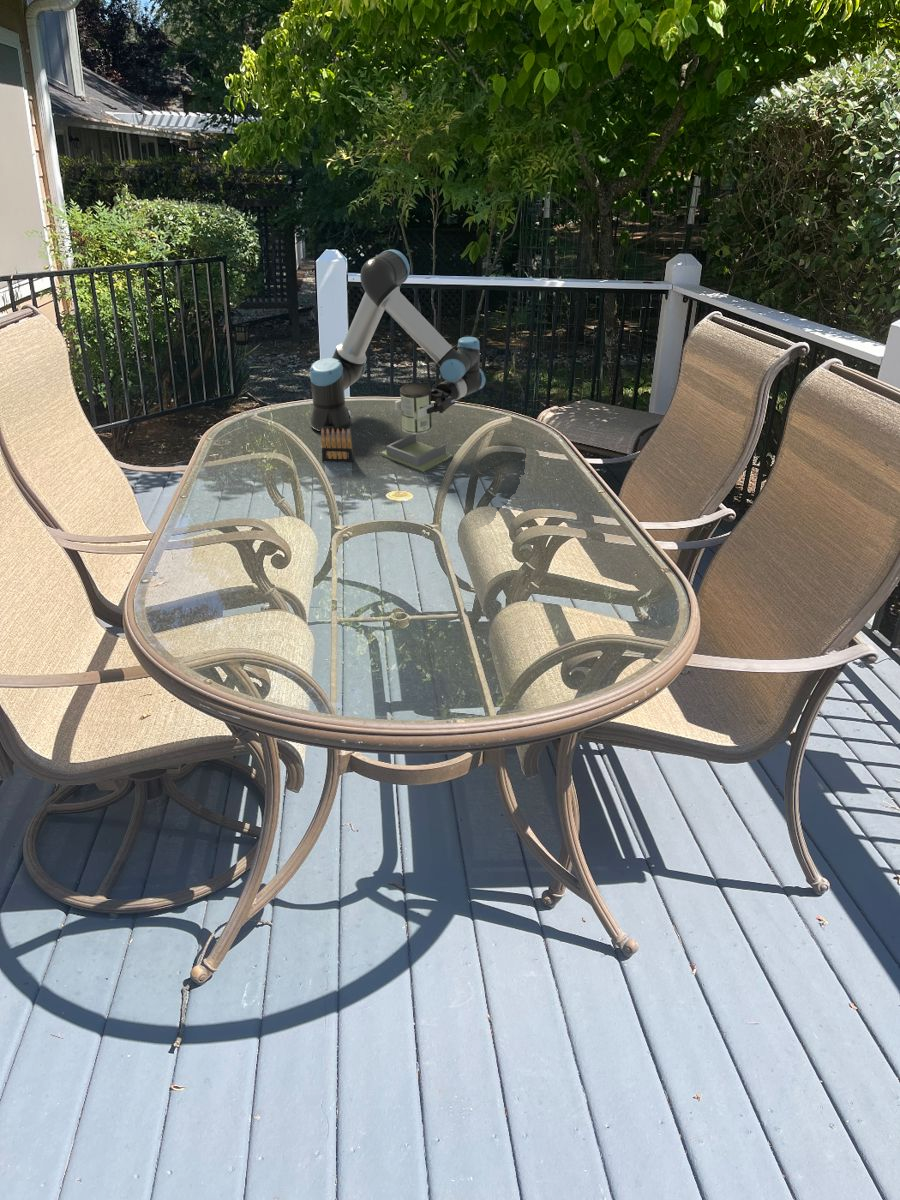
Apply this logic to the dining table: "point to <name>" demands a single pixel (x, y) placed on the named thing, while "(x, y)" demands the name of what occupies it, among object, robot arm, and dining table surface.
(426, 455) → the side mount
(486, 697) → the dining table surface
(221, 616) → the dining table surface
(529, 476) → the dining table surface
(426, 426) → the coffee can
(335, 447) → the ammunition clip
